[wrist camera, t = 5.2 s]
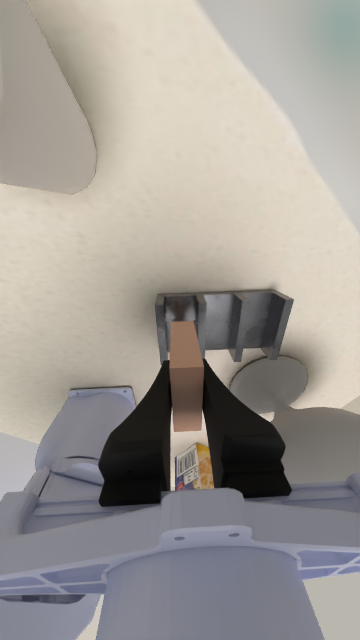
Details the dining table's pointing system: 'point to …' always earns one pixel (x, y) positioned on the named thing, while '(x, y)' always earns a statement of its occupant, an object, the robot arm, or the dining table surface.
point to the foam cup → (38, 112)
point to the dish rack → (226, 320)
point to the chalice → (301, 422)
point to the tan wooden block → (186, 377)
